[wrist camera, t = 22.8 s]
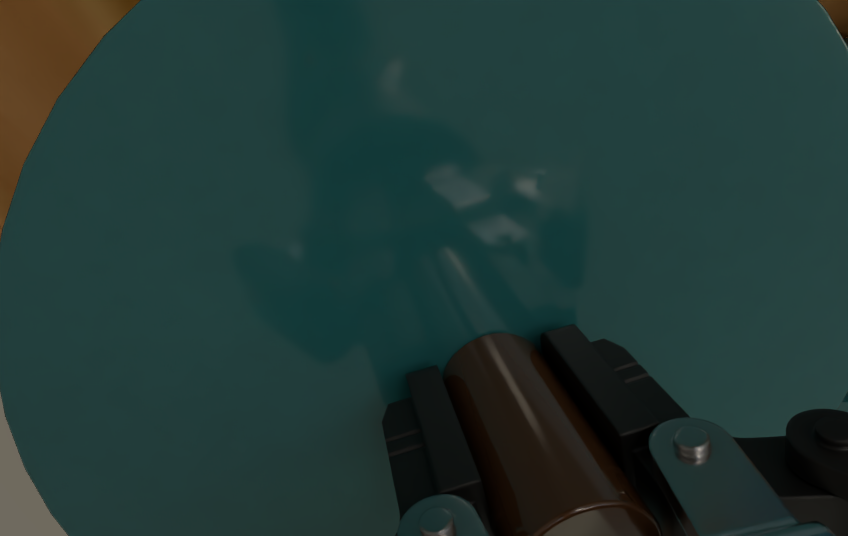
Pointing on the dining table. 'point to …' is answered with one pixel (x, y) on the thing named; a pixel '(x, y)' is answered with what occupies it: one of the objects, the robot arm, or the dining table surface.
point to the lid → (415, 250)
